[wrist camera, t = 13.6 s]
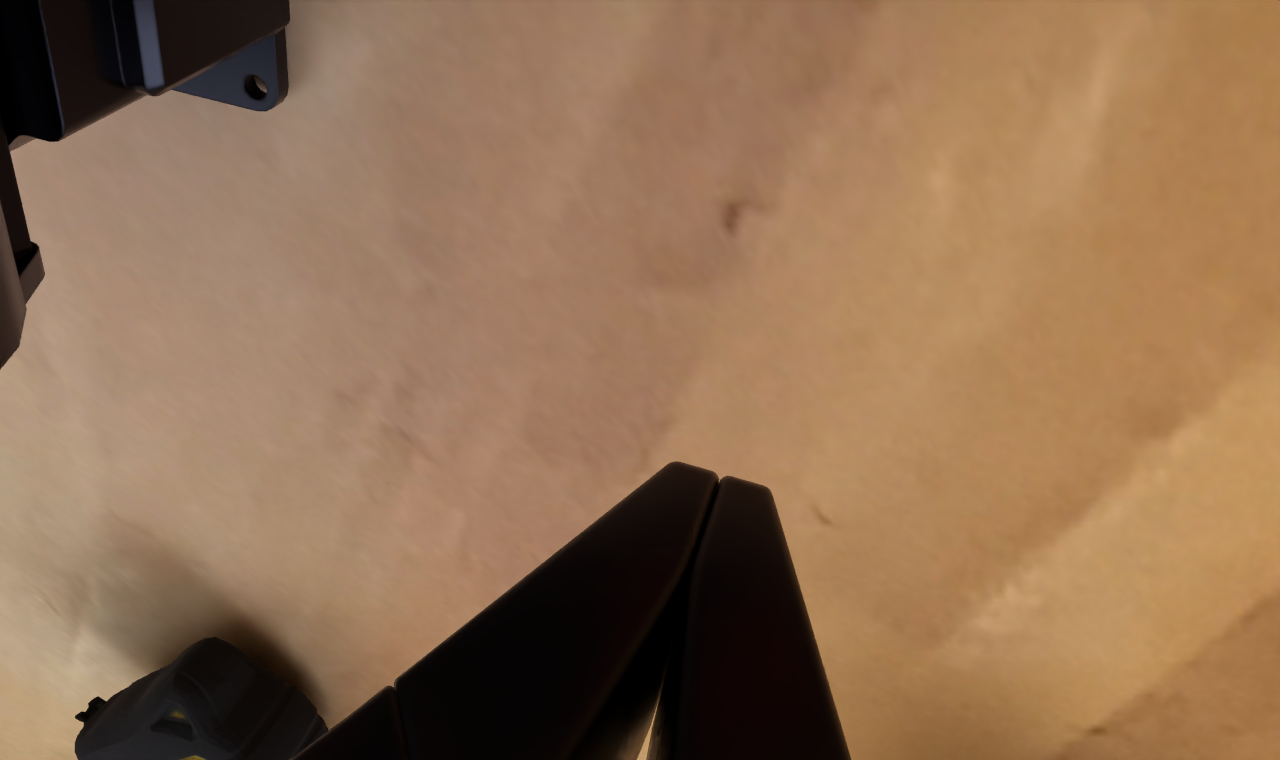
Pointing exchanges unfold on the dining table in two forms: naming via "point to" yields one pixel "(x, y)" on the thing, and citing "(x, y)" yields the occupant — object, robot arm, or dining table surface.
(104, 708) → the tape measure
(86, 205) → the dining table surface
